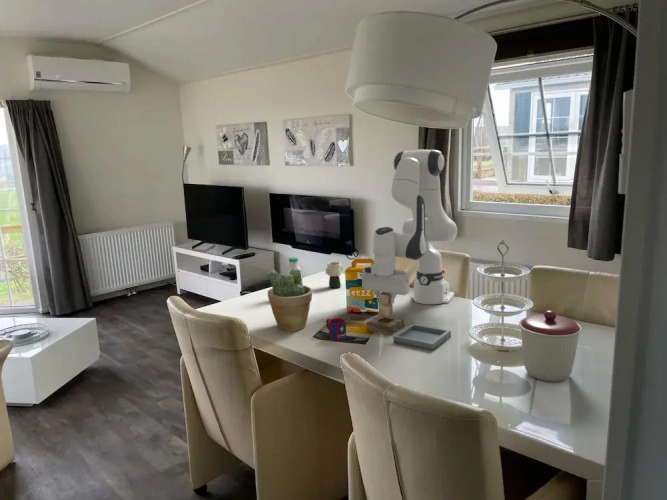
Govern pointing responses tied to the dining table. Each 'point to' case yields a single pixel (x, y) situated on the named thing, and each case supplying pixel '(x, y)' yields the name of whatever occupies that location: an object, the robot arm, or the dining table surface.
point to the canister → (549, 345)
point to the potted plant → (289, 300)
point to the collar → (386, 324)
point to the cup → (336, 328)
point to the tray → (422, 336)
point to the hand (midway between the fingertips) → (385, 302)
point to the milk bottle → (293, 265)
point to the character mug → (334, 273)
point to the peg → (385, 304)
